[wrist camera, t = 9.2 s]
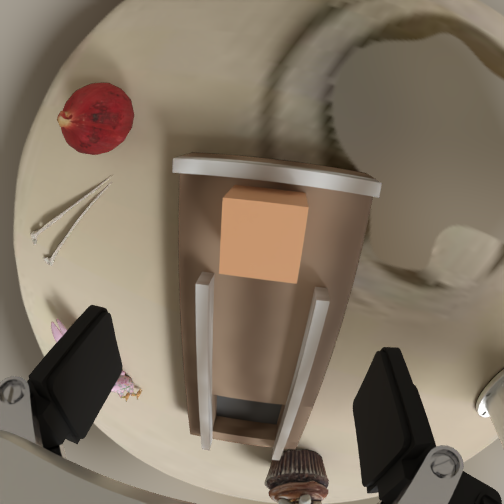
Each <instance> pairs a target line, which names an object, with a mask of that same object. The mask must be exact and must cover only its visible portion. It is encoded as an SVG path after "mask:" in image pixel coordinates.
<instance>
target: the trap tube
mask: <svg viewBox="0 0 504 504" xmlns="http://www.w3.org/2000/svg"><path fill="white" fill-rule="evenodd" d="M172 173H180V179H179V291H180V316H181V335H182V351H183V365H184V377H185V388H186V399H187V409H188V418H189V427H190V434H192V435H197V436H201V445H202V449H205V450H210V446H211V442H212V439H217V440H223V441H228V442H234V443H241V444H248V445H255V446H264V447H273V452H272V460H280V458H281V455H282V453H283V450H284V449H296V447H297V445H298V442H299V440H300V438H301V435H302V433H303V431H304V428H305V426H306V423H307V421H308V418H309V416H310V413H311V411H312V408H313V406H314V403H315V400H316V398H317V395H318V393H319V390H320V387H321V384H322V382H323V379H324V376H325V373H326V370H327V367H328V365H329V362H330V359H331V356H332V353H333V350H334V347H335V343H336V340H337V337H338V334H339V331H340V328H341V324H342V321H343V318H344V314H345V311H346V307H347V304H348V300H349V297H350V293H351V289H352V286H353V282H354V278H355V274H356V270H357V266H358V262H359V258H360V254H361V250H362V246H363V241H364V237H365V232H366V228H367V223H368V218H369V213H370V208H371V203H372V198H373V197H378V198H379V195H380V190H381V185H382V183H381V182H379V181H377V180H376V179H374V178H373V177H371V176H370V175H368V174H366V173H363V172H357V171H352V170H346V169H340V168H334V167H328V166H321V165H314V164H307V163H300V162H293V161H285V160H276V159H267V158H258V157H248V156H237V155H225V154H211V153H195V152H192V153H189V154H186V155H182V156H179V157H176V158H173V172H172ZM234 185H241V186H251V187H260V188H269V189H278V190H287V191H295V192H303V193H306V198H307V202H308V206H309V209H308V216H307V223H306V230H305V236H304V243H303V249H302V256H301V262H300V268H299V274H298V280H297V284H295V283H287V282H278V281H270V280H262V279H255V278H247V277H239V276H232V275H224V274H219V263H220V240H221V219H222V201H223V197H224V196H225V195H226V193H227V192H228V191H229V190H230V189H231V188H232V187H233V186H234Z"/></svg>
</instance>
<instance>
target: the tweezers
mask: <svg viewBox="0 0 504 504" xmlns="http://www.w3.org/2000/svg"><path fill="white" fill-rule="evenodd" d="M111 177H112V175H111V176H110V177H109V178H111ZM109 178H107V179H106V180H105V181H103V182H102V183H101V184H99V185H98V186H97V187H95V188H94V189H93V190H92V191H90V192H89V193H88V194H86V195H85V196H83V197H82V198H81V199H79V200H78V201H77V202H76V203H74V204H73V205H72V206H70V207H69V208H68V209H66V210H65V211H63V212H62V213H60V214H59V215H58V216H56V217H55V218H53V219H52V220H51V221H49V222H48V223H47V224H45V225H44V226H43V227H42V228H41V229H39V230H37V231H33V232H32V233H31V237H32V240H33V244H34V245H36V243H37V237H38V235H39V234H40V233H41V232H43V231H44V230H45V229H47V228H48V227H49V226H51V225H52V224H53V223H55V222H56V221H57V220H59V219H60V218H61V217H62V216H63V215H64V214H65V213H66V212H67V211H69V210H70V209H71V208H72V207H74V206H75V205H77V204H78V203H80V202H81V201H82V200H84V199H85V198H86V197H88V196H89V195H90V194H92V193H94V191H96V190H97V189H98V188H99V187H100V186H101V185H103V184H104V183H105V182H106V181H107V180H108V179H109ZM111 183H112V182H111ZM111 183H110V184H111ZM110 184H109V185H110ZM109 185H108V186H109ZM108 186H107V187H106V188H105V189H104V190H102V191H101V192H100V193H99V194H98V195H97V196H96V197H95V199H94V200H93V201H92V202H91V203H90V204H89V206H88V207H87V208H86V210H85V211H84V212H83V213H82V214H81V216H80V217H79V218H78V219H77V221H76V222H75V223H74V225H73V226H72V227H71V229H70V230H69V232H68V233H67V235H66V236H65V238H64V239H63V240H62V242H61V243H60V244H59V245H58V247H57V248H56V250H55V252H54V253H53V255H52V257H50V258H49V257H46V258H43V260H44V261H45V262H46V263H47V264H49V265H50V266H52V265H53V263H54V260H55V257H56V255H57V253H58V251H59V250H60V248H61V246H62V245H63V243H64V241H65V240H66V238H67V237H68V236H69V234H70V233H71V232H72V230H73V229H74V227H75V226H76V225H77V223H78V222H79V221H80V219H81V218H82V217H83V215H84V214H85V213H86V211H87V210H88V209H89V208H90V207H91V206H92V204H93V203H94V202H95V201H96V200H97V199H98V198H99V197H100V195H101V194H102V193H103V192H104V191H105V190H106V189H107V188H108Z"/></svg>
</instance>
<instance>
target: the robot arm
mask: <svg viewBox="0 0 504 504" xmlns="http://www.w3.org/2000/svg"><path fill="white" fill-rule="evenodd" d="M121 373H122V362H121V358H120V354H119V350H118V346H117V341H116V337H115V332H114V328H113V323H112V318H111V314H110V313H108V311H107V309H106V308H103V307H99V306H95V305H91V306H89V307H88V308H87V309H86V310H85V312H84V313H83V314H82V315H81V316H80V317H79V318H78V319H77V320H76V321H75V322H74V324H73V325H72V326H71V327H70V328H69V329H68V330H67V331H66V333H65V334H64V335H63V336H62V337H61V338H60V339H59V341H58V342H57V343H56V344H55V345H54V346H53V348H52V349H51V350H50V351H49V352H48V353H47V355H46V356H45V357H44V358H43V359H42V361H41V362H40V363H39V364H38V365H37V367H36V368H35V369H34V370H33V371H32V373H31V374H30V375H29V380H28V381H27V382H26V380H25V379H23V378H22V377H18V376H11V377H8V378H5V379H4V380H2V381H1V382H0V504H195V503H191V502H186V501H182V500H178V499H174V498H170V497H166V496H162V495H159V494H156V493H152V492H149V491H146V490H142V489H139V488H136V487H133V486H130V485H127V484H124V483H122V482H119V481H116V480H113V479H111V478H108V477H106V476H103V475H101V474H98V473H96V472H93V471H91V470H89V469H87V468H84V467H82V466H80V465H78V464H76V463H73V462H71V461H69V460H67V458H66V455H65V451H64V447H63V442H64V440H65V439H67V440H69V441H71V442H74V443H76V444H78V442H79V441H80V439H83V438H85V436H86V435H87V433H88V431H89V429H90V427H91V426H92V424H93V422H94V420H95V418H96V417H97V415H98V413H99V411H100V410H101V408H102V406H103V404H104V402H105V401H106V399H107V397H108V395H109V394H110V392H111V390H112V389H113V387H114V385H115V383H116V382H117V380H118V378H119V377H120V375H121ZM476 410H477V412H478V415H479V416H481V417H490V418H491V420H492V422H493V425H494V427H495V429H496V432H497V434H498V437H499V438H500V441H501V444H502V446H503V449H504V369H503V370H502V371H501V372H500V373H498V374H497V375H496V376H495V377H494V378H493V379H492V380H491V381H490V382H489V384H488V385H487V386H486V387H485V388H484V390H483V391H482V393H481V394H480V396H479V398H478V400H477V403H476ZM353 413H354V420H355V427H356V435H357V442H358V450H359V459H360V468H361V477H362V484H363V486H364V487H367V493H377V492H379V499H380V501H379V502H378V504H502V503H501V502H502V500H501V497H500V495H499V493H498V492H497V491H496V490H495V489H493V488H491V487H490V486H488V485H486V484H484V483H483V482H481V481H479V480H477V479H476V478H474V477H472V476H471V475H469V474H467V473H465V472H464V471H463V467H464V465H463V459H462V457H461V455H460V454H459V452H458V451H457V450H455V449H454V448H452V447H449V446H442V445H441V446H437V447H436V444H435V441H434V438H433V434H432V431H431V428H430V425H429V422H428V419H427V416H426V413H425V410H424V407H423V404H422V401H421V398H420V395H419V392H418V390H417V388H416V386H415V385H414V384H413V382H412V379H411V376H410V374H409V371H408V368H407V366H406V363H405V361H404V358H403V355H402V353H401V350H400V349H399V348H390V347H383V348H382V349H381V351H377V352H376V354H375V356H374V359H373V361H372V363H371V365H370V368H369V370H368V372H367V374H366V376H365V379H364V381H363V383H362V385H361V387H360V389H359V391H358V393H357V395H356V397H355V399H354V402H353Z"/></svg>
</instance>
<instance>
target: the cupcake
mask: <svg viewBox="0 0 504 504" xmlns="http://www.w3.org/2000/svg"><path fill="white" fill-rule="evenodd" d="M328 481H329V480H328V478H327V475H326V471H325V467H324V464H323V460H322V457H321V456H320V455H319V454H318V453H316V452H314V451H310V450H302V449H295V450H287V451H283V453H282V455H281V458H280V460H272V463H271V466H270V469H269V472H268V475H267V477H266V480H265V486H267V488H268V489H270V491H269V496H270V497H271V499H272V500H274V501H275V502H277V503H279V504H322V503H321V501H322V500H323V499H324V498H325V497H326V496H327V494H328V489H327V487H328Z"/></svg>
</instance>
